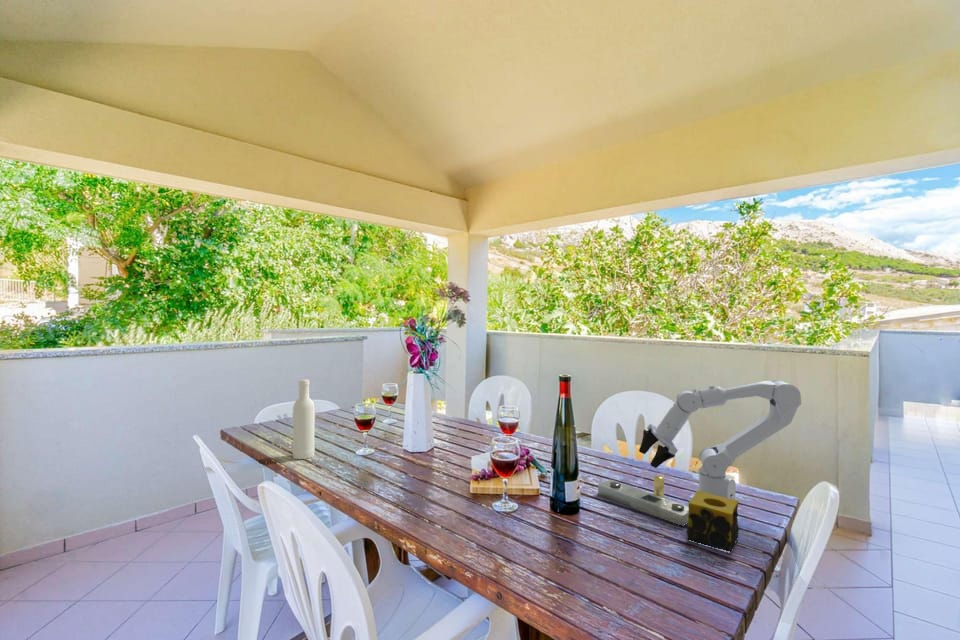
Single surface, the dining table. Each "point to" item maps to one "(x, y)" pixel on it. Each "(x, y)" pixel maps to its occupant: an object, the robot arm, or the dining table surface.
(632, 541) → the dining table surface
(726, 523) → the yellow block with hole
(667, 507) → the bolted metal base plate
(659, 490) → the pin
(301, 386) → the bottle
